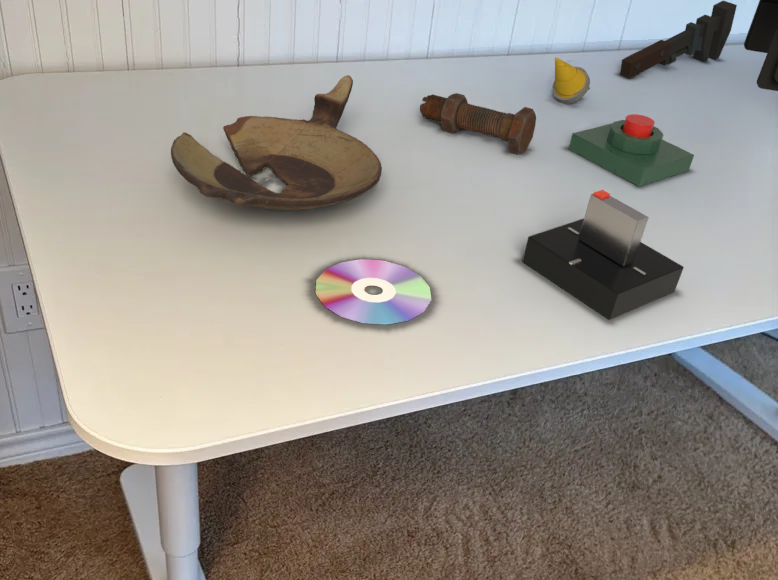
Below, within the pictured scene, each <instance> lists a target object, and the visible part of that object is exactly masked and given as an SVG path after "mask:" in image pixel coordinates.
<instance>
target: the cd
mask: <svg viewBox="0 0 778 580" xmlns="http://www.w3.org/2000/svg"><path fill="white" fill-rule="evenodd" d="M370 286H375V287H379V288H380V289H381V290H382V292H381V293H379V294H370V293H368V292H367V291H366V290H365V289H366V288H367V287H370ZM315 295H316V296H317V298H318V299H319V301H320V302H321V304H322V306H323V307H325V308H326V309H328V310H330V311H331V312H333V313H334V314H335V315H338V317H341V318H343V319H347V320H350V321H353V322H358V323H361V324H370V325H372V324H373V325H391V324H396V323H397V324H398V323H402V322H407V321H408V322H409V321H410V320H412V319H414V318H415V317H417V316H419V315H421V314H423V313H425V311H426V309H427V308H428V307H429V304H430V303H431V302H432V294H431V287H430V285H429V284H428V283H427V282H426V281H425V280H424V278H423V277H422V276H421V275H420V274H418V273H417V272H414V271H413V270H412V269H410V268H408V267H406V266H404V265H400V264H398V263H393V262H391V261H390V262H389V261H386V260H384V259H383V260H381V259H367V258H366V259H365V258H360V259H355V260H354V259H353V260H347V261H342V262H339V263H337V264H335V265H333V266H330V267H328V268H326V269H325V270H324V271H323V272H322V273H321V274H320V275H319V276H318V277H317V279H316V281H315Z"/></svg>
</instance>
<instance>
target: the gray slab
mask: <svg viewBox="0 0 778 580" xmlns="http://www.w3.org/2000/svg"><path fill="white" fill-rule="evenodd" d="M583 218H584V221H583V224H582V228H581V231H580V235H579V240H580V241H582V242H584V243H585V244H587V245H588V246H590V247H592V248H593V249H595V250H597V251H598V252H600V253H601V254H603V255H605V256H606V257H608V258H610V259H611V260H613V261H615V262H616V263H618V264H619V265H621V266H623V267H624V266H626V265H629V264H631V263H633V262H634V260H635V257H636V254H637V251H638V248H639V245H640V242H642V239H643V236H644V232H645V229H646V226H647V223H648V220H649V216H648V215H646V214H645V213H642V212H640V211H638V210H637V209H635V208H633V207H632V206H629V204H628V205H627V204H626V203H624V202H623V201H621V200H618V198H615V197H614V196H611V193H610V192H608V191H606V190H605V189H601V190H598V191H594V192H593V193H591V194H590V196H589V199H588V202H587V207H586V210H585V214H584V217H583Z"/></svg>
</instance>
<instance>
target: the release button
mask: <svg viewBox="0 0 778 580" xmlns="http://www.w3.org/2000/svg"><path fill="white" fill-rule="evenodd" d="M624 120H625V122H624V126H623V129H622V131H623V132H625V133H627V134H629V135H632V136H637V137H650V136H651V133H652V130H653V126H654V127H655V123H656V122H655V121H654V119H653V118H651V117H649V116H646V115H643V114H639V113H631V114H627V115H626V116H625V119H624Z"/></svg>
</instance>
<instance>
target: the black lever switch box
mask: <svg viewBox="0 0 778 580" xmlns="http://www.w3.org/2000/svg"><path fill="white" fill-rule="evenodd" d="M583 221H584V217H583V218H580V219H578V220H575V221H572V222H568V223H565V224H562V225H559V226H555V227H553V228H550V229H547V230H544V231H541V232H539V233H535V234H533V235H529V236H528V237H527V241H526V245H525V248H524V254H523V258H522V263H523V264H525V265H526V266H528V267H529V268H531V269H532V270H534V271H535V272H537V273H538V274H540V275H541V276H542V277H544V278H546V279H547V280H549V281H550V282H551V283H553V284H554V285H556V286H558V287H559V288H560V289H562V290H563V291H565V292H566V293H568V294H570V295H571V296H573V297H574V298H576V300H578V301H580V302H581V303H583V304H584V305H586V306H588V307H589V308H590V309H592V310H593V311H594V312H596V313H598V314H599V315H601V316H602V317H604V318H605V319H607V320H608V321H610V320H613V319H615V318H618V317H620V316H622V315H625V314H627V313H629V312H631V311H634V310H636V309H638V308H641V307H643V306H645V305H648V304H650V303H652V302H654V301H657V300H659V299H661V298H664V297H666V296H669V295H671V294H674V293H675V291H676V289H677V286H678V283H679V281H680V278H681V277H682V273H683V271H684V268H685V267H684V266H683V265H682V264H680V263H678V262H676V261H674V260H673V259H671V258H669V257H667V256H666V255H664V254H663V253H661V252H659V251H657V250H656V249H653V247H650V246H649V245H648V244H645V243H643V242H642V241H641V242H640V245H639V248H638V251H637V254H636V257H635V260H634V262H633V263H631V264H629V265H626V266H624V267H623V266H621V265H619V264H618V263H616V262H615V261H613V260H611V259H610V258H608V257H606V256H605V255H603V254H601V253H600V252H598V251H597V250H595V249H593V248H592V247H590V246H588V245H587V244H585V243H584V242H582V241H580V240H579V235H580V231H581V228H582V224H583Z"/></svg>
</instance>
